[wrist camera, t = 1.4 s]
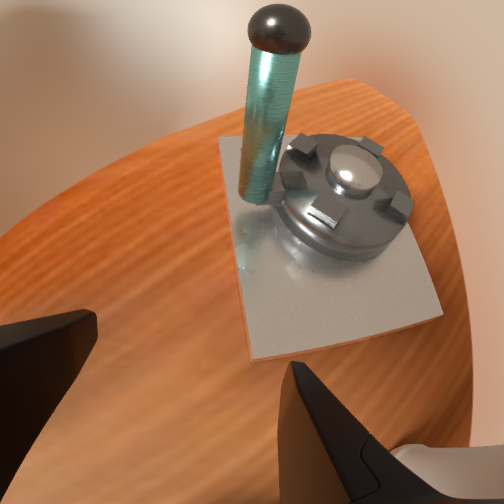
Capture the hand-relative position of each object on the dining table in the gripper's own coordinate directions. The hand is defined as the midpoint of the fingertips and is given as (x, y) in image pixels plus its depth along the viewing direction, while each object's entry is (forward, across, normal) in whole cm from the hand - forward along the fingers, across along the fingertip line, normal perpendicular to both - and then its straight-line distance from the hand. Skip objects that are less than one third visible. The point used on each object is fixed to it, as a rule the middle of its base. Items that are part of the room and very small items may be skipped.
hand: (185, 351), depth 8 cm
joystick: (+20, -6, -4) cm, 21 cm away
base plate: (+20, -7, -2) cm, 22 cm away
